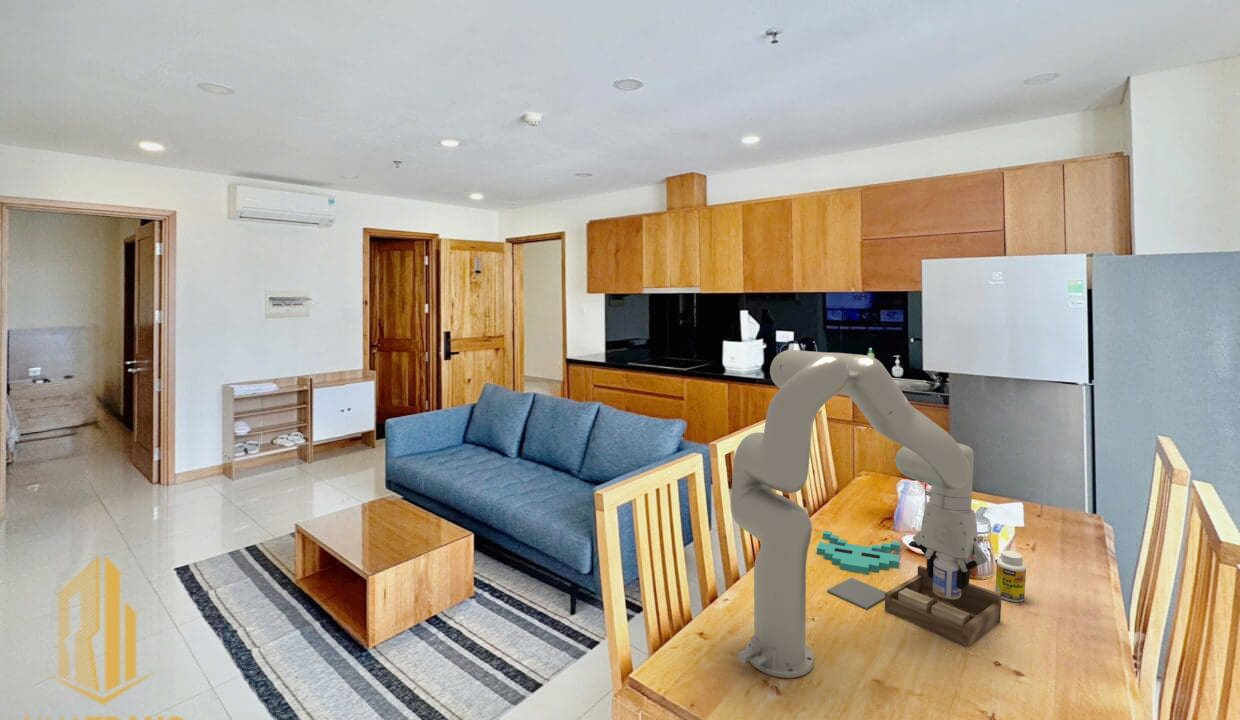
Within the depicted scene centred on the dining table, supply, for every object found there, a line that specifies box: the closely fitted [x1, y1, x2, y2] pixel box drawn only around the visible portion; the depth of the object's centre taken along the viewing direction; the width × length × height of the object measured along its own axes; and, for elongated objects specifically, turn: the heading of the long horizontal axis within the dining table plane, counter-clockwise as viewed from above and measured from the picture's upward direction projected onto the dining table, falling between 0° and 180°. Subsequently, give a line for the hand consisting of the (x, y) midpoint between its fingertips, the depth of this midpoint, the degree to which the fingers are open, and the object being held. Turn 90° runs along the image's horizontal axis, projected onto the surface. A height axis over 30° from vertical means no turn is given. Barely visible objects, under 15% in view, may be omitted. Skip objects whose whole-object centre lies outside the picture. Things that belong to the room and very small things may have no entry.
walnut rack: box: [884, 565, 1002, 648], centre depth 121 cm, size 15×17×6 cm
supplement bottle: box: [994, 550, 1027, 603], centre depth 128 cm, size 6×6×10 cm
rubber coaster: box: [826, 577, 887, 611], centre depth 131 cm, size 10×10×1 cm
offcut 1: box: [898, 588, 934, 615], centre depth 121 cm, size 3×6×4 cm, turn 35°
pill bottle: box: [933, 552, 961, 599], centre depth 122 cm, size 5×5×10 cm
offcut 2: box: [932, 601, 970, 628], centre depth 115 cm, size 3×6×4 cm, turn 35°
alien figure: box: [816, 530, 901, 576], centre depth 150 cm, size 20×2×20 cm
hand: (947, 580), depth 122 cm, fingers closed on pill bottle, 5 cm apart
